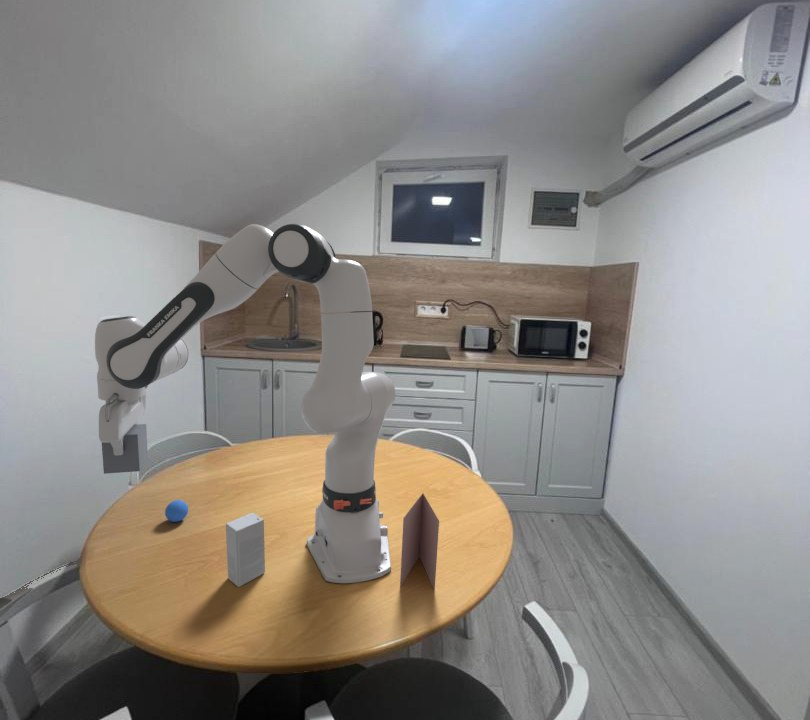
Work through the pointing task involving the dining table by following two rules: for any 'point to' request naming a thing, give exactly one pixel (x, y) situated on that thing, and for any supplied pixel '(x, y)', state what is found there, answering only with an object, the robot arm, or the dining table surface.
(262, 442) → the dining table surface
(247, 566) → the skincare box
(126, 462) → the balanced grey cube
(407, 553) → the greeting card
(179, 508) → the ball
